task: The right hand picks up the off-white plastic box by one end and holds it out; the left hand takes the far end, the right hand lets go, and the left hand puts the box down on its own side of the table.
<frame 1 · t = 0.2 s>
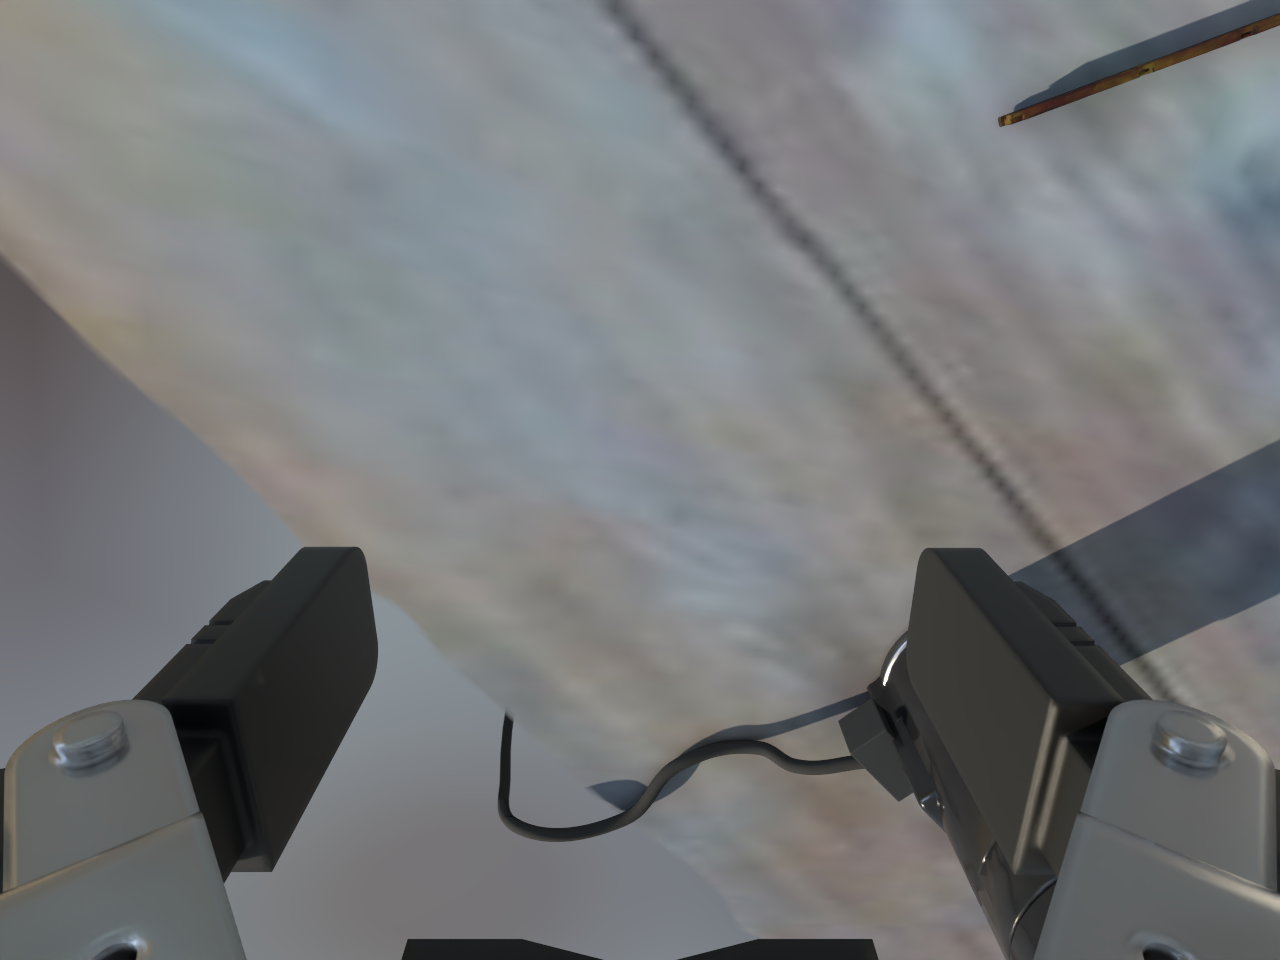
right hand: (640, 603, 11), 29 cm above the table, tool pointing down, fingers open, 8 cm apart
ruler: (1164, 60, 34), on the table
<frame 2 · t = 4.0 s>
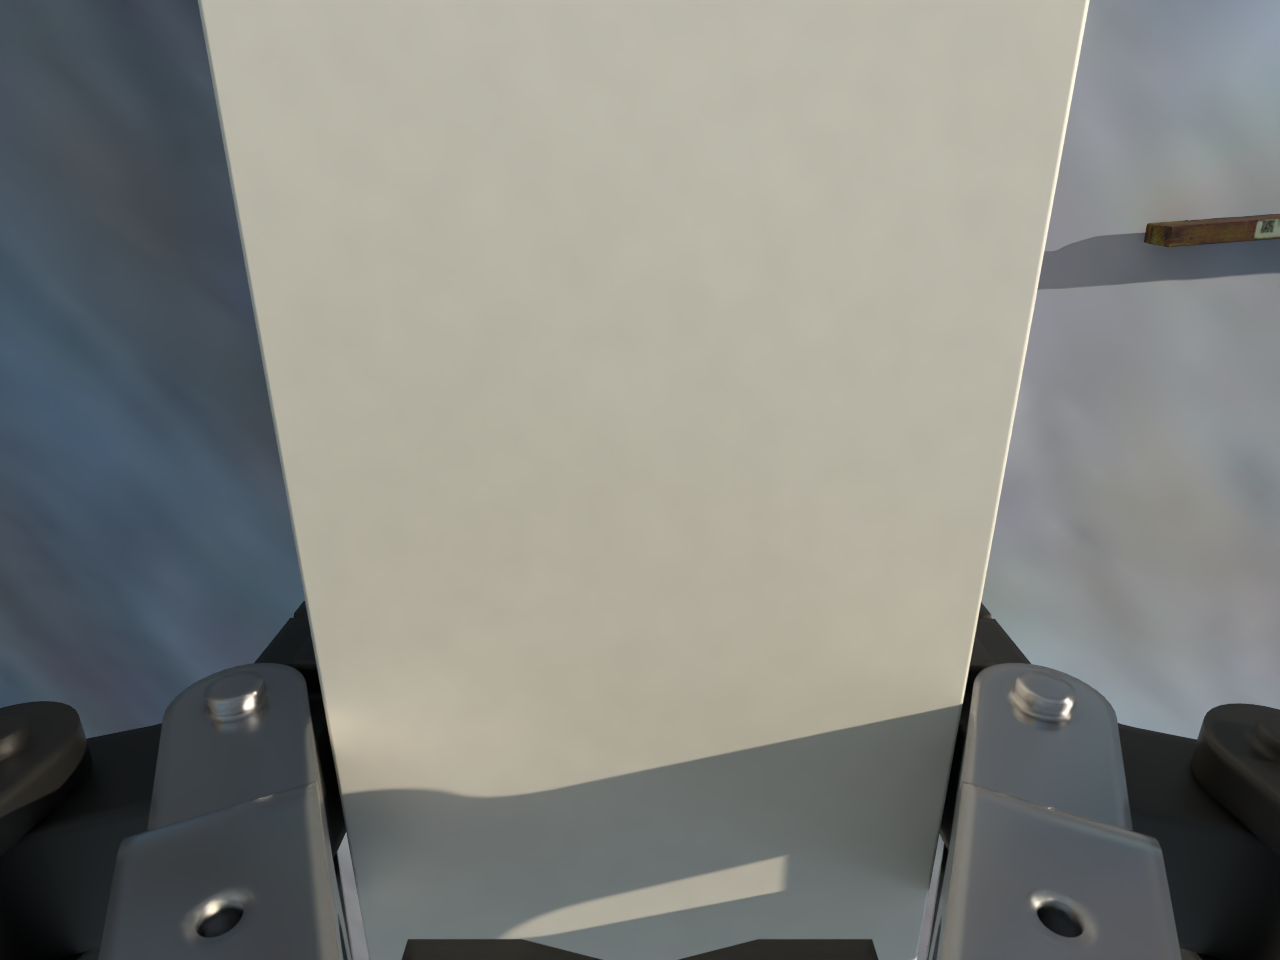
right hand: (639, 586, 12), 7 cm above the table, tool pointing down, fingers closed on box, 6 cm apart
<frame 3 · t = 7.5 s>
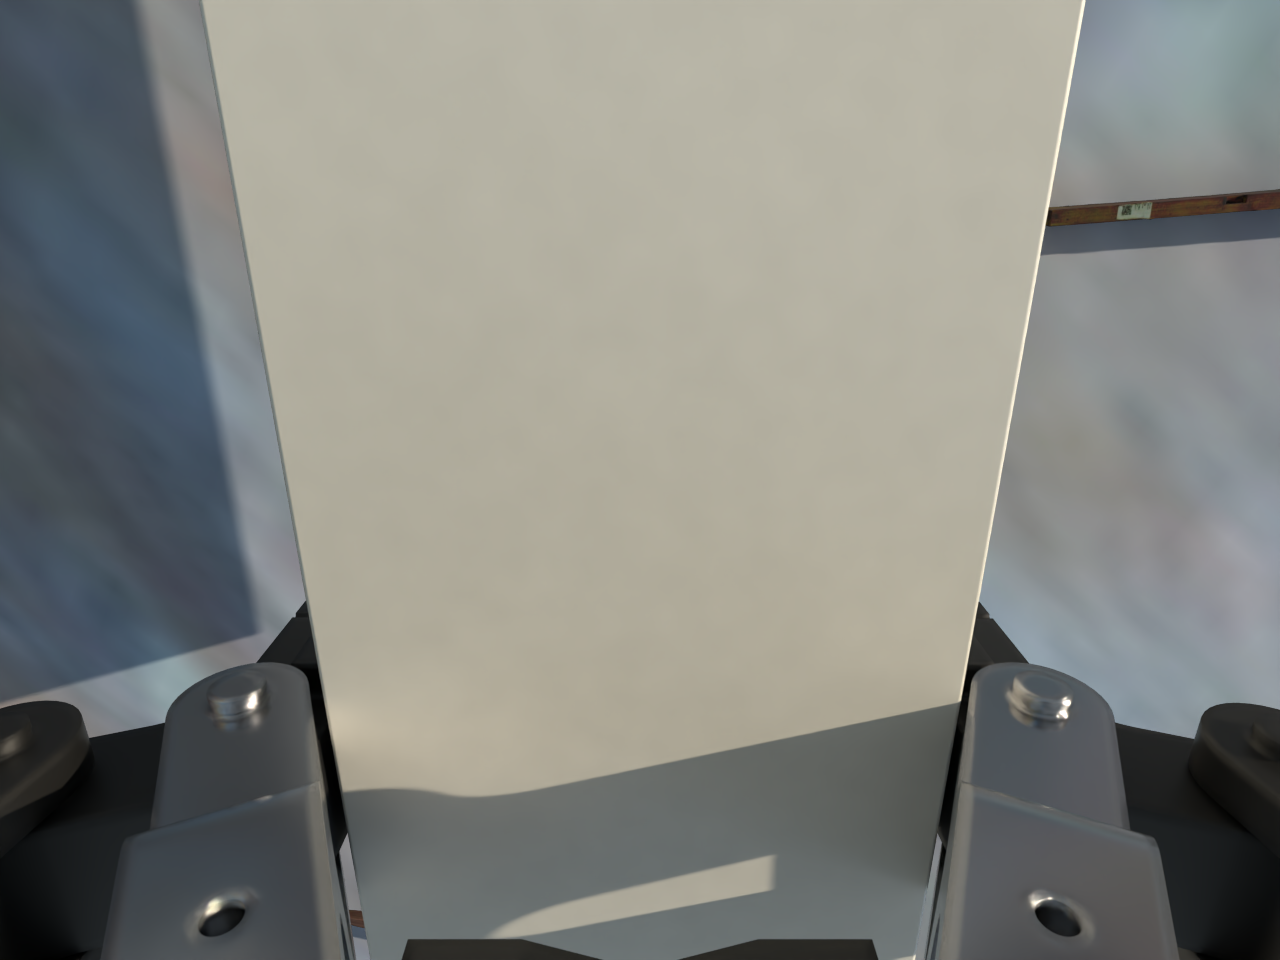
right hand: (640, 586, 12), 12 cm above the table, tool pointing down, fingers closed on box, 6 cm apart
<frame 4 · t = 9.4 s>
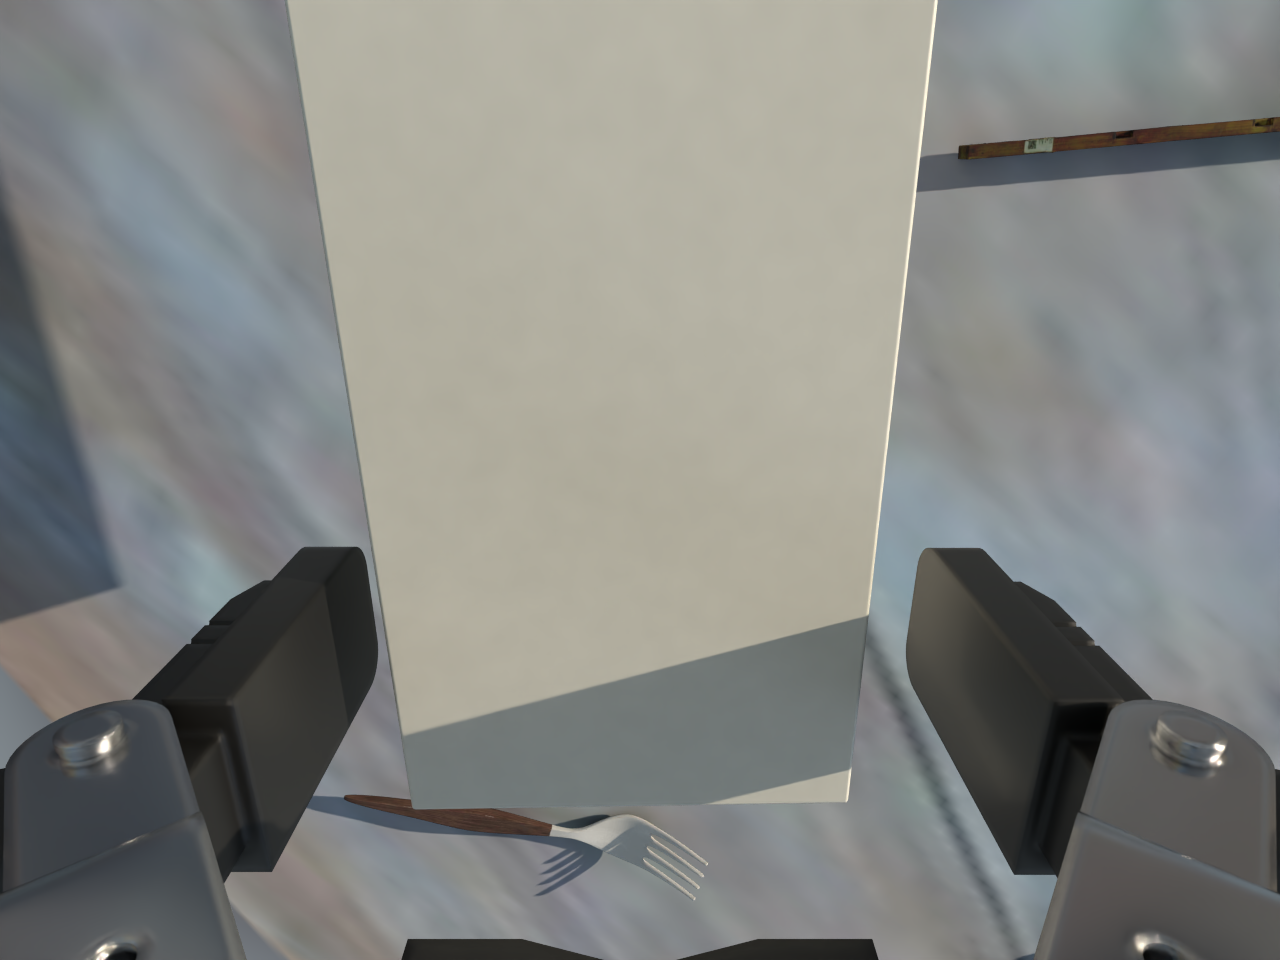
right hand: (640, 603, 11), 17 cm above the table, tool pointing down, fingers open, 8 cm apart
ruler: (1187, 132, 25), on the table
fork: (527, 814, 35), on the table
when the left hand's fingers open (9 cm above the table, at t = 13.4 s): box drops 1 cm, on the table.
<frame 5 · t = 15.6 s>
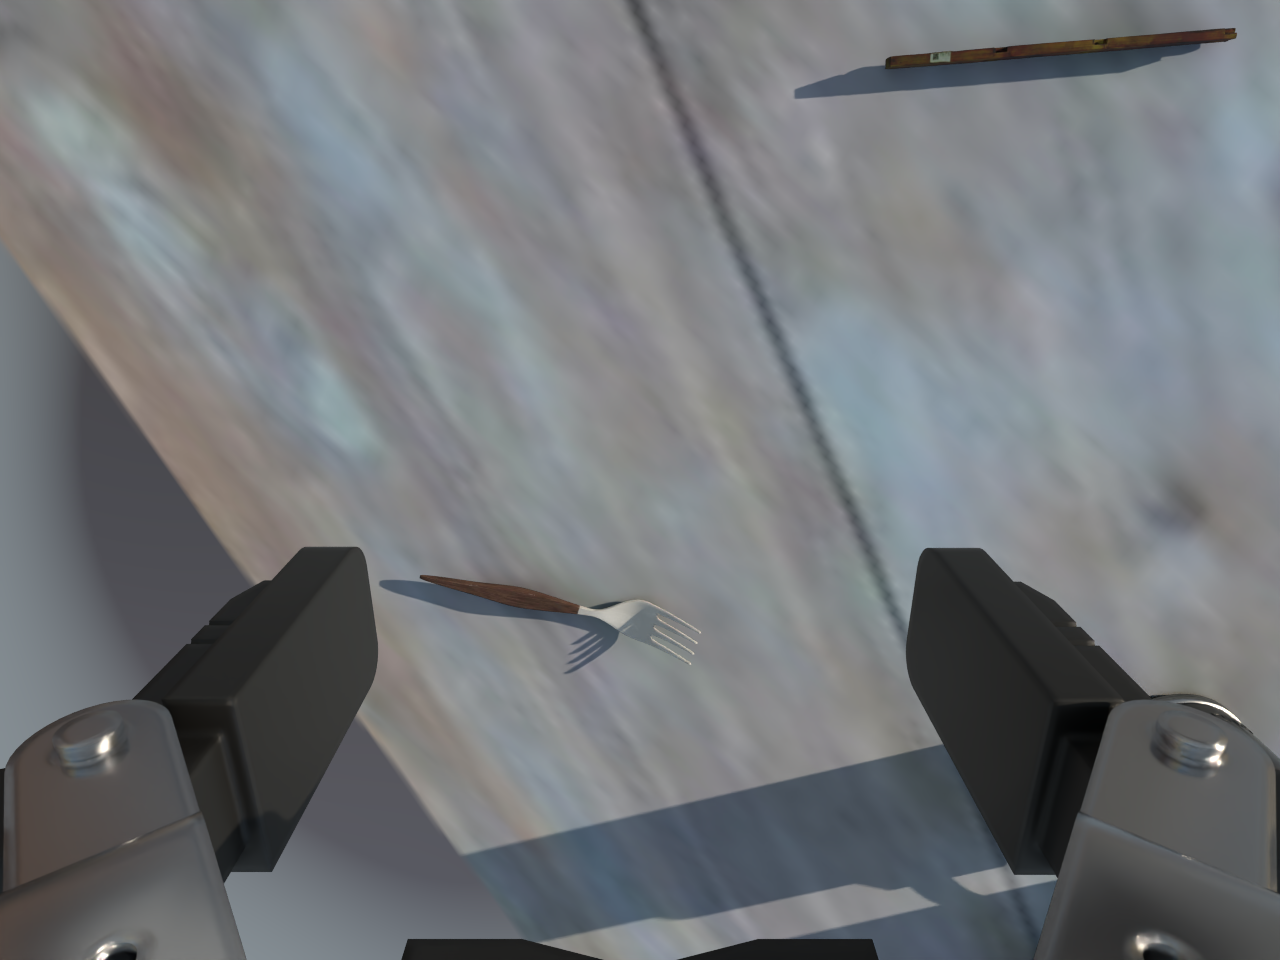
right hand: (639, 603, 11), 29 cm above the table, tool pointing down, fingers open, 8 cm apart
ruler: (1051, 51, 35), on the table
fork: (560, 599, 45), on the table
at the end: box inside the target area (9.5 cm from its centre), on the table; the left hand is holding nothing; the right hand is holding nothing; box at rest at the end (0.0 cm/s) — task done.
